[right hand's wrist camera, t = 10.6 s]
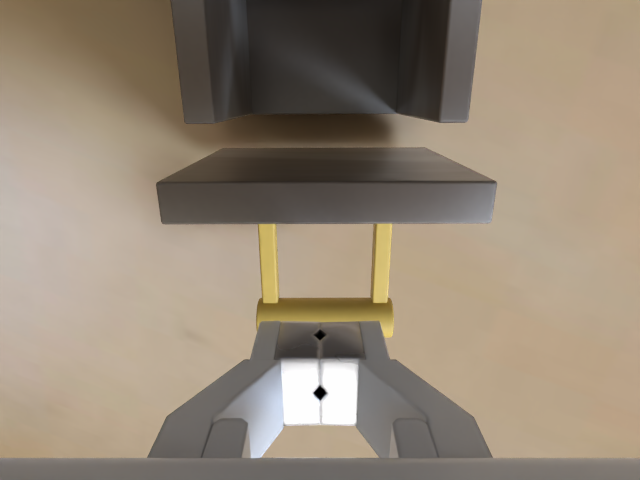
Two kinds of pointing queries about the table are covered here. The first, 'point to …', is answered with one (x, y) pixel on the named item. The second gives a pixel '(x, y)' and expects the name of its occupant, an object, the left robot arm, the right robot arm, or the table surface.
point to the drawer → (326, 98)
